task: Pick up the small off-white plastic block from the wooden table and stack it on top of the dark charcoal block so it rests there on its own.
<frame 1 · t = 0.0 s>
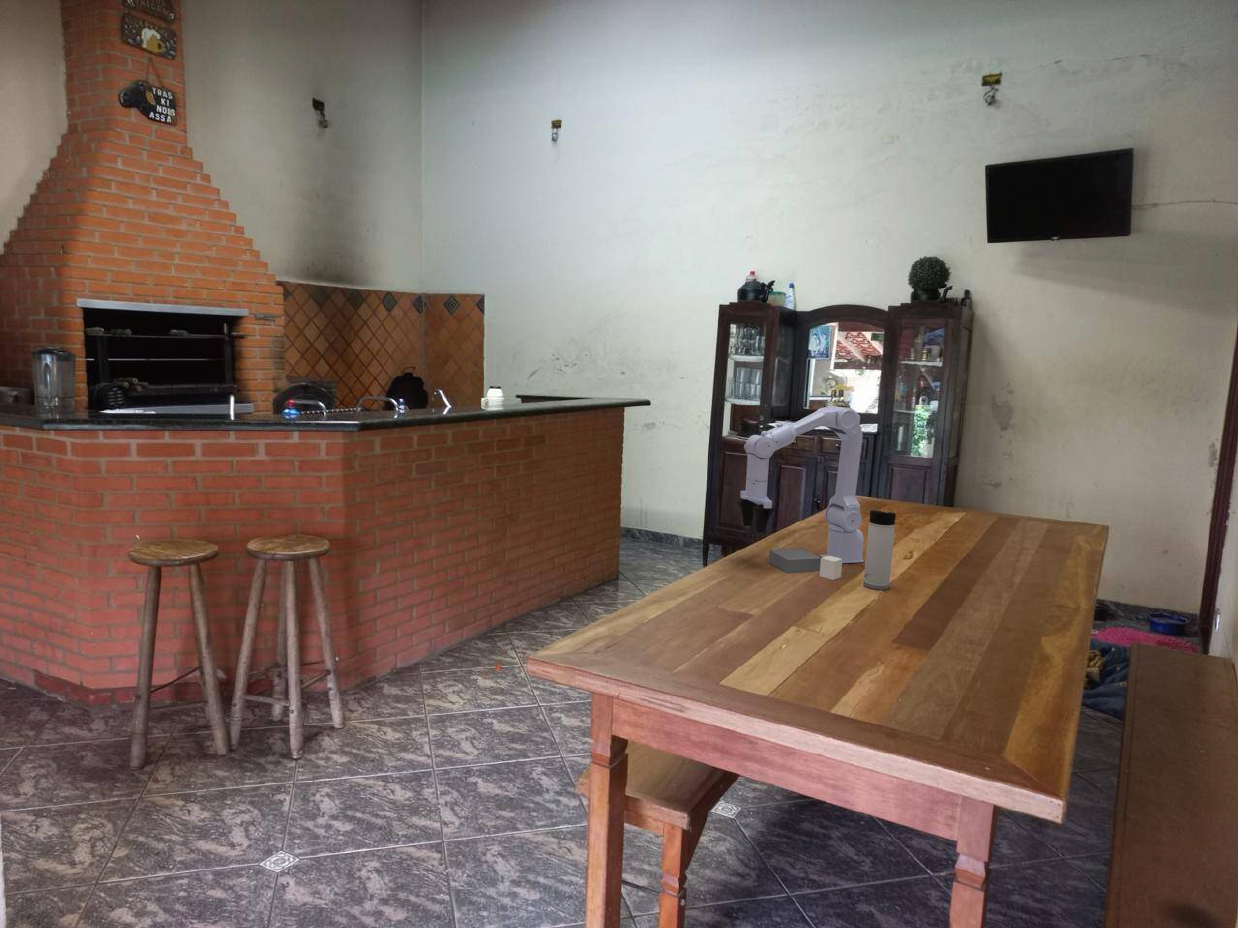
hand: (753, 528, 211), 10 cm above the table, tool pointing down, fingers open, 7 cm apart
base block: (793, 568, 213), on the table
travel mug: (875, 587, 197), on the table
top block: (830, 576, 205), on the table
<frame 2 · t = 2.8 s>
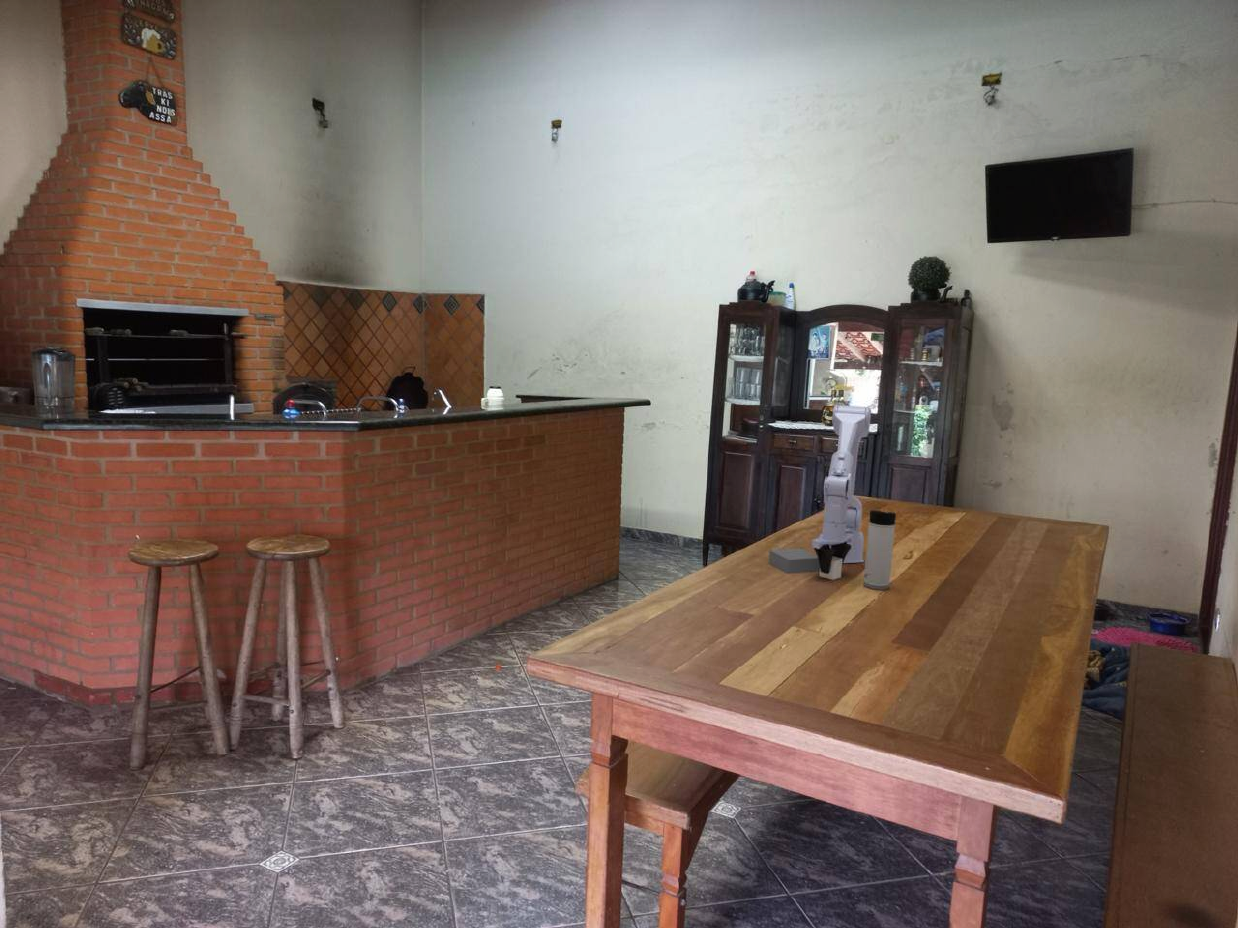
hand: (830, 571, 204), 1 cm above the table, tool pointing down, fingers closed on top block, 4 cm apart
top block: (830, 576, 205), on the table, touching gripper
everything else where it was.
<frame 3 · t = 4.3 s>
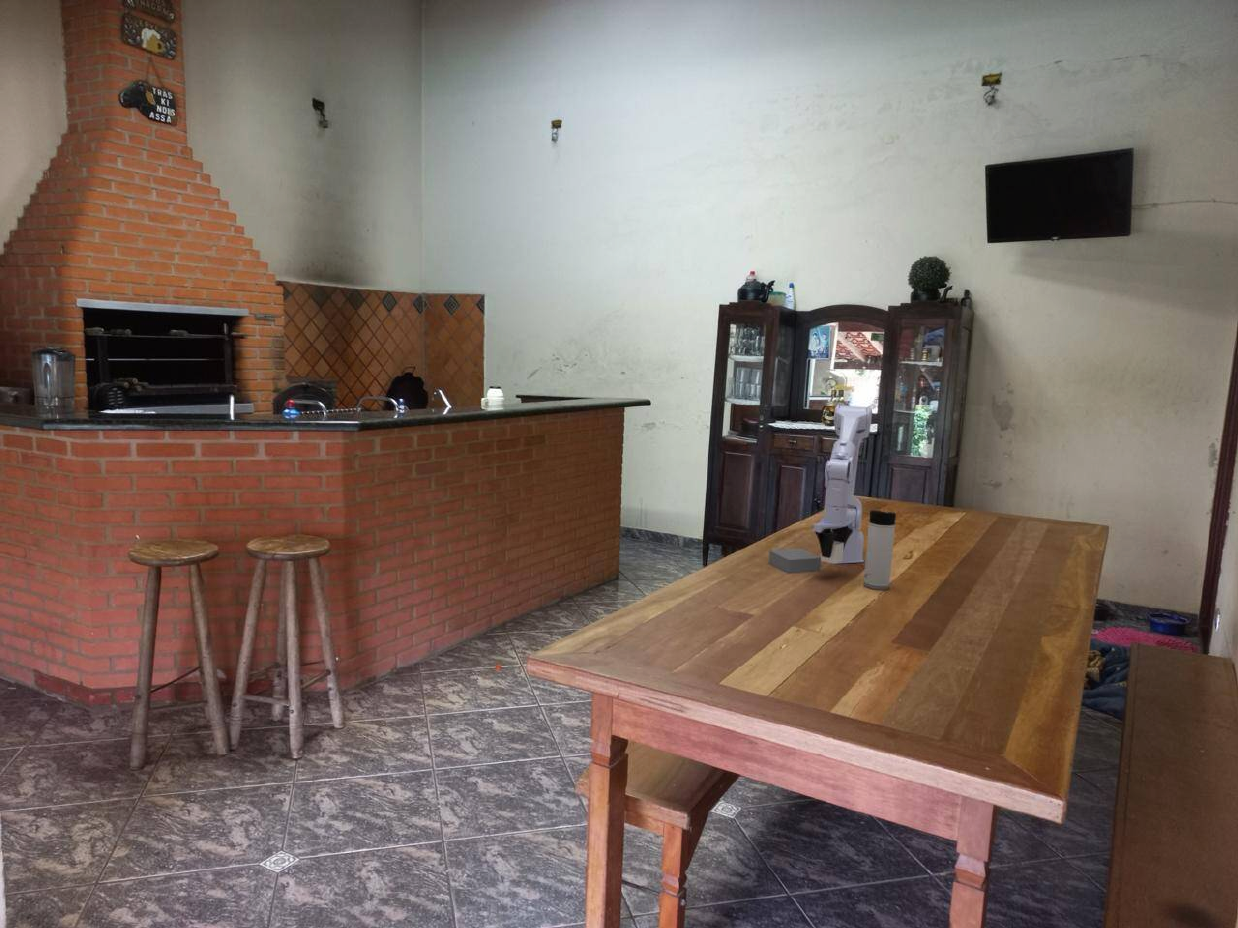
hand: (832, 555, 204), 6 cm above the table, tool pointing down, fingers closed on top block, 4 cm apart
top block: (831, 560, 204), point 4 cm above the table, touching gripper
everything else where it was.
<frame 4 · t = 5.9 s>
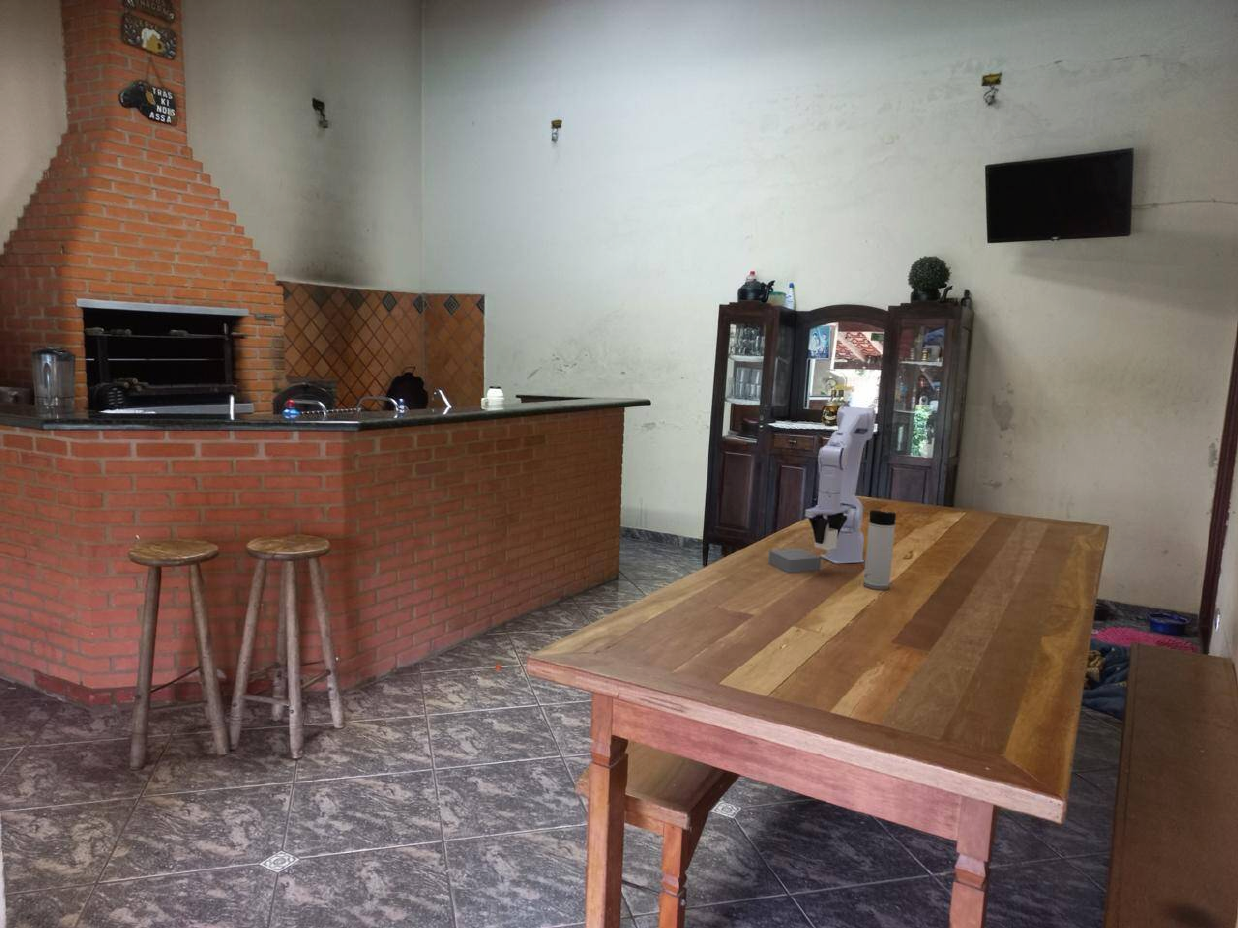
hand: (825, 542, 205), 9 cm above the table, tool pointing down, fingers closed on top block, 4 cm apart
top block: (825, 547, 205), point 7 cm above the table, touching gripper
everything else where it was.
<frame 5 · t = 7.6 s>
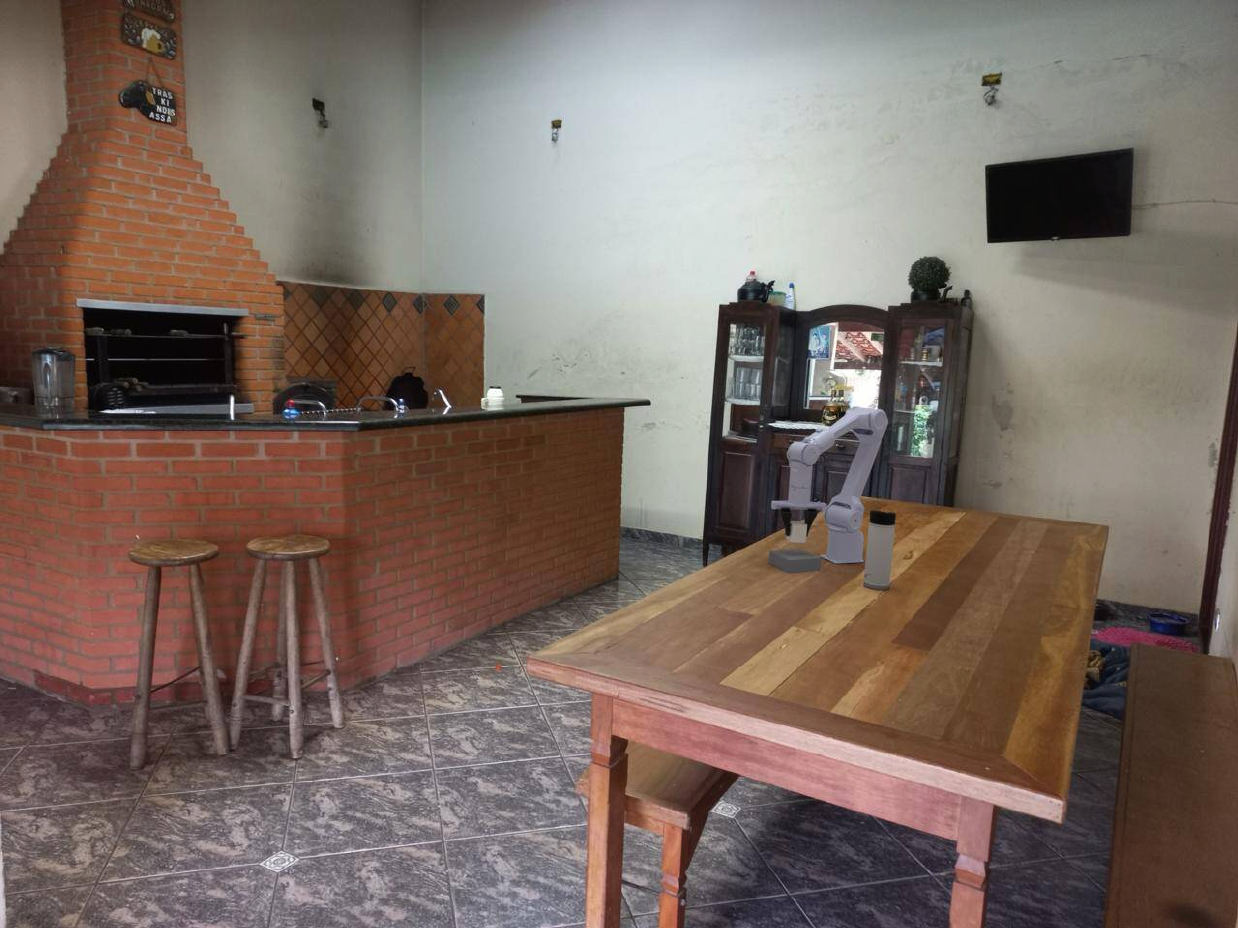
hand: (796, 535, 211), 9 cm above the table, tool pointing down, fingers closed on top block, 4 cm apart
top block: (795, 540, 211), point 7 cm above the table, touching gripper
everything else where it was.
when the fingers open (7 cm above the table, at t = 8.8 s): top block drops 2 cm, resting on base block.
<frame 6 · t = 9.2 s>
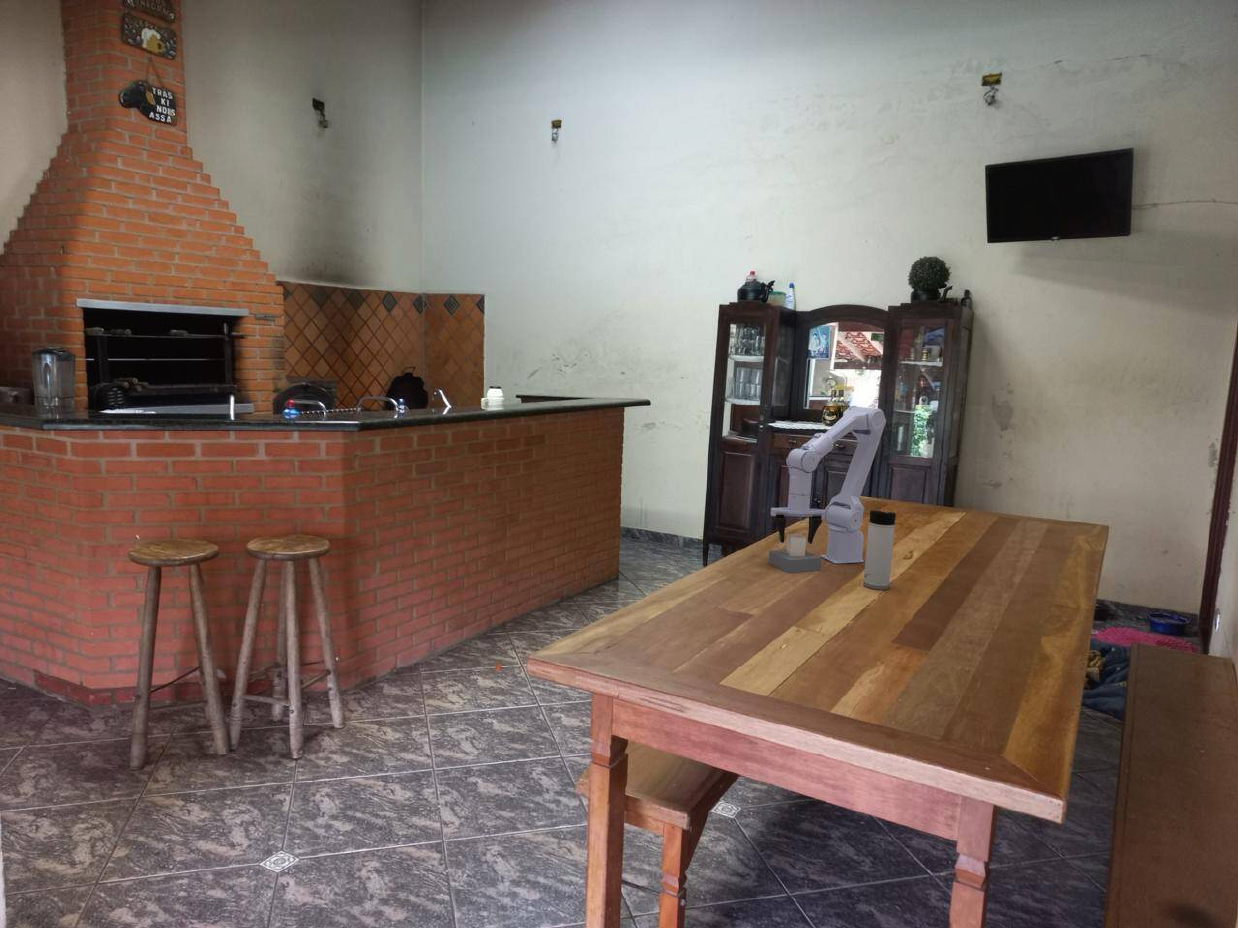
hand: (795, 542, 212), 7 cm above the table, tool pointing down, fingers open, 7 cm apart
base block: (793, 568, 213), on the table, touching top block
top block: (795, 554, 212), point 4 cm above the table, touching base block
everything else where it was.
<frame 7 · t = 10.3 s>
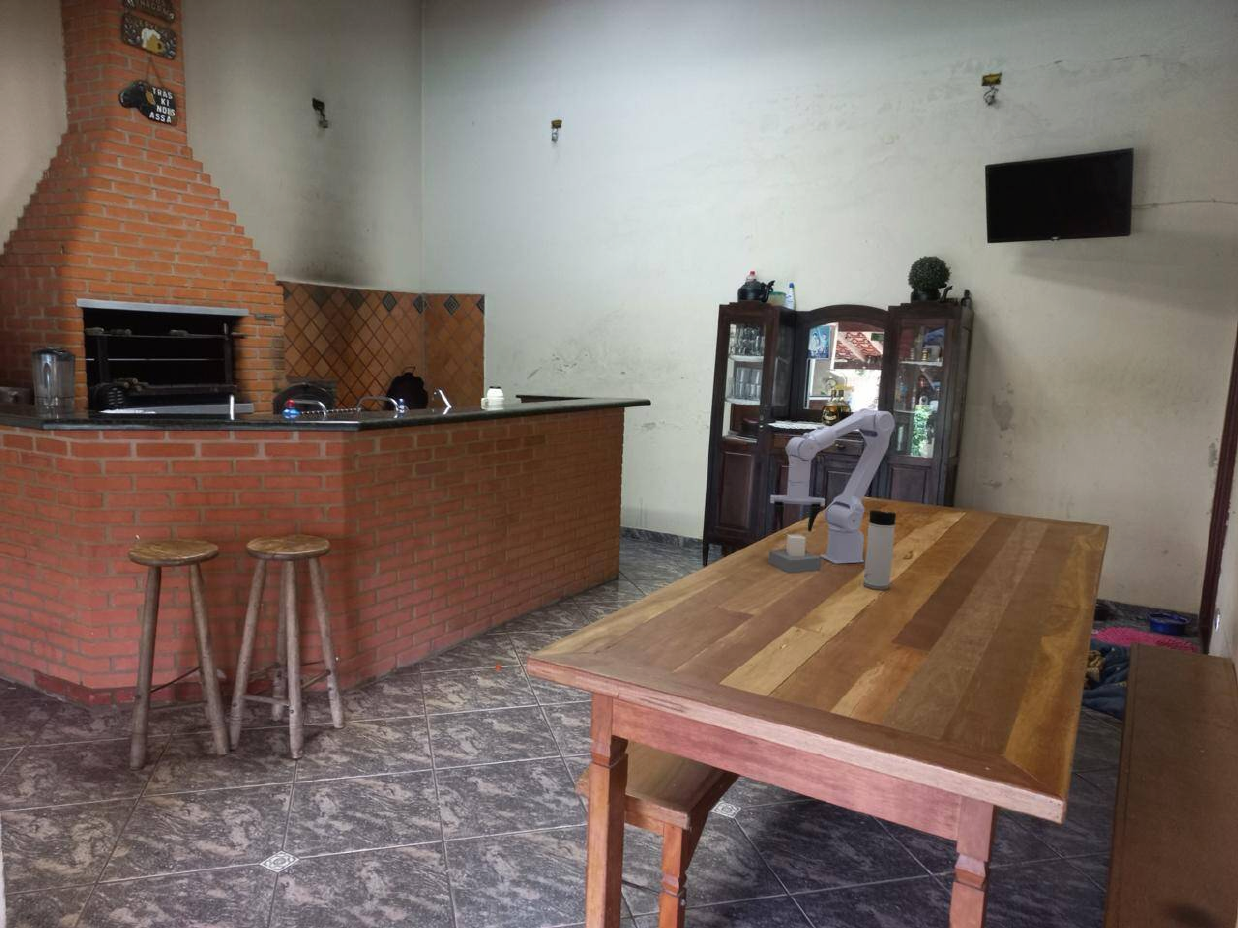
hand: (795, 529, 214), 10 cm above the table, tool pointing down, fingers open, 7 cm apart
nothing on the table moved.
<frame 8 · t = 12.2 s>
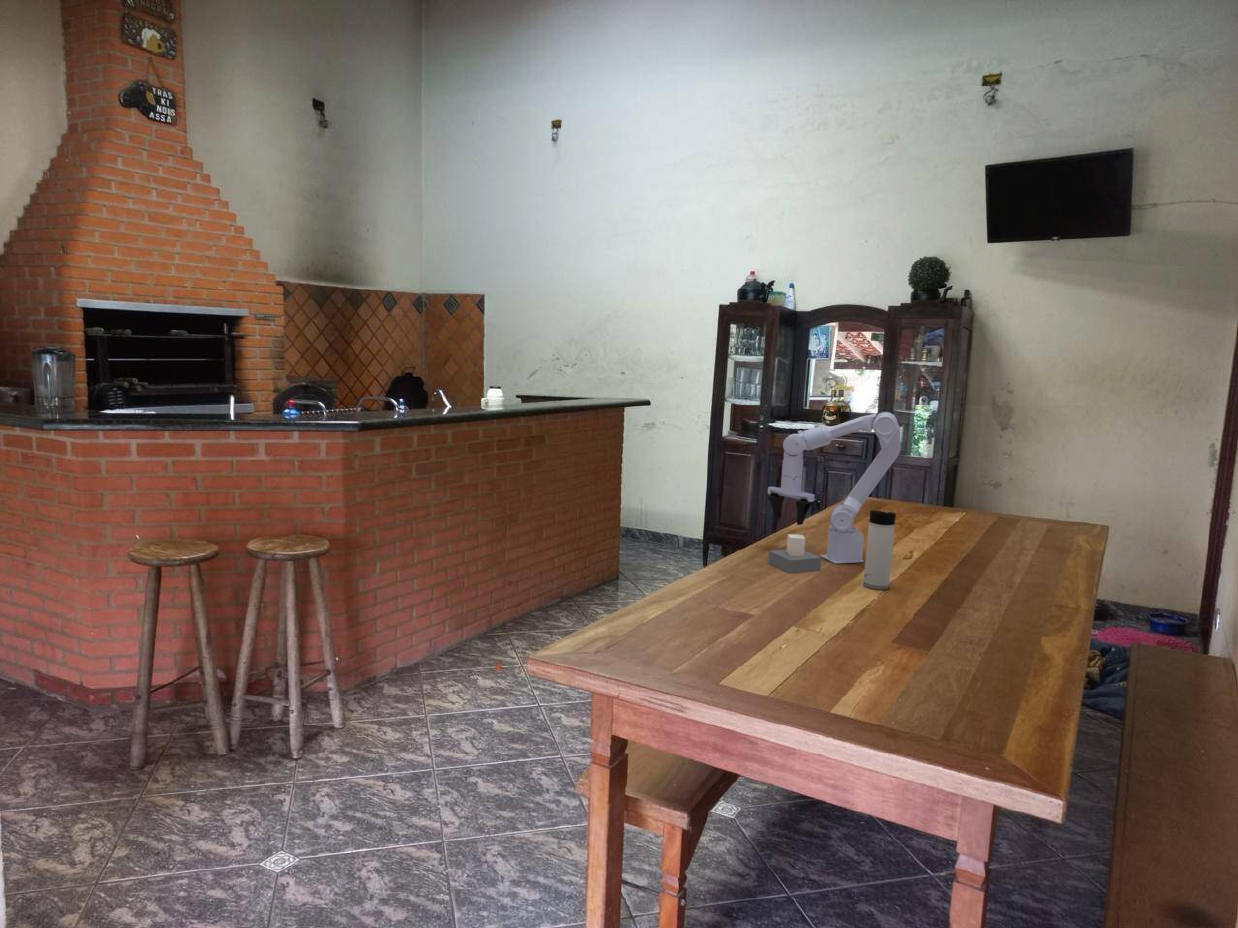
hand: (788, 521, 225), 9 cm above the table, tool pointing down, fingers open, 7 cm apart
base block: (793, 568, 213), on the table
top block: (795, 554, 212), point 4 cm above the table
everything else where it was.
at the end: top block 0.1 cm off-centre on the base block, point 4.0 cm above the base block's base; top block tilted 0°; the gripper is holding nothing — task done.
